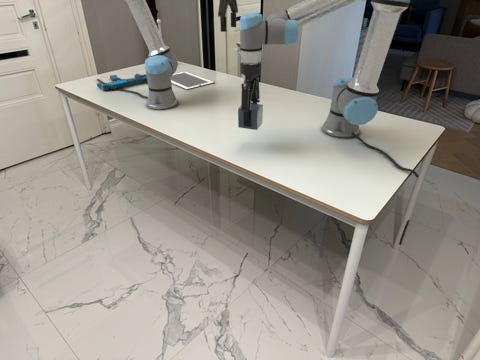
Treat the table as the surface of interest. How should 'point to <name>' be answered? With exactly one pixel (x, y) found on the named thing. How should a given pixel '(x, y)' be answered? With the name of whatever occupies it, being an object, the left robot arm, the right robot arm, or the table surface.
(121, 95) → the table surface
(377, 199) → the table surface
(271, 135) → the table surface
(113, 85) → the submachine gun
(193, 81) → the tablet
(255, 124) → the grey cube
